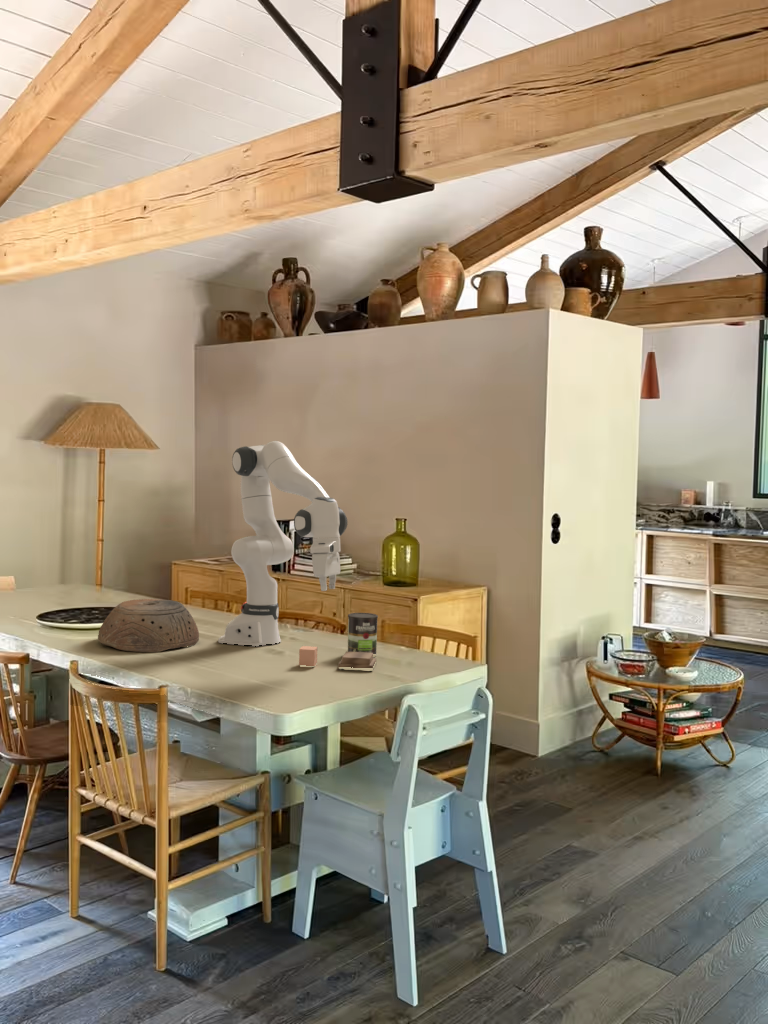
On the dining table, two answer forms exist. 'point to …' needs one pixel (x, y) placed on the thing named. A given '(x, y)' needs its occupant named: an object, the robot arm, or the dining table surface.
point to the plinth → (357, 660)
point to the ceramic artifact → (149, 626)
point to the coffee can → (362, 632)
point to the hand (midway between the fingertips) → (328, 589)
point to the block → (308, 656)
